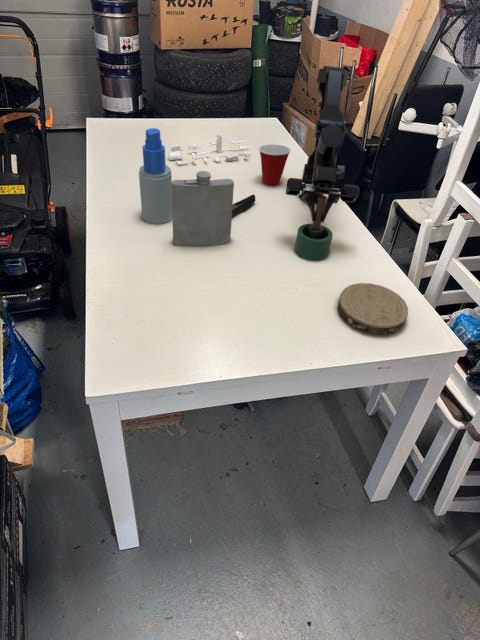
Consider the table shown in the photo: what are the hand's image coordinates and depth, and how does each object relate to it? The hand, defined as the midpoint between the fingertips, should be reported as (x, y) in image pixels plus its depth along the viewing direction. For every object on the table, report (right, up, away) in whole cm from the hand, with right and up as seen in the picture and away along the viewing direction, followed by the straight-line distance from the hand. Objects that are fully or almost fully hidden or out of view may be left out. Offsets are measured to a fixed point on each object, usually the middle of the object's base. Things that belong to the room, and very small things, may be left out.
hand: (317, 221), depth 121 cm
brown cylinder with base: (0, -4, +5) cm, 7 cm away
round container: (-1, -7, +8) cm, 10 cm away
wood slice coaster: (+11, -24, -11) cm, 29 cm away
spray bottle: (-45, +5, +16) cm, 48 cm away
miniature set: (-32, +35, +52) cm, 70 cm away
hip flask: (-31, -4, +7) cm, 32 cm away
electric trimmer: (-21, +8, +22) cm, 32 cm away
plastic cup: (-10, +22, +40) cm, 46 cm away
